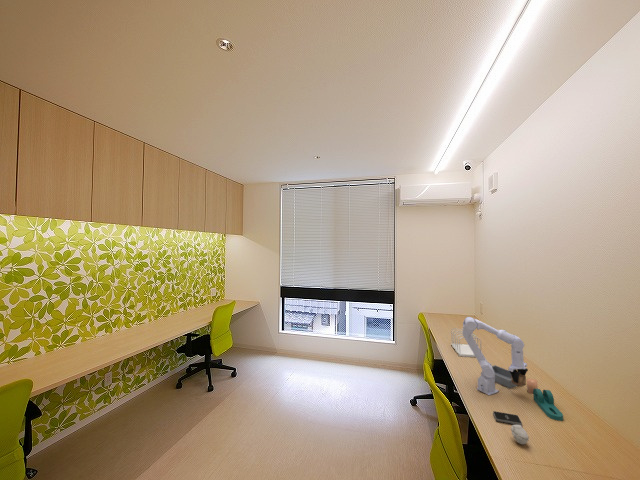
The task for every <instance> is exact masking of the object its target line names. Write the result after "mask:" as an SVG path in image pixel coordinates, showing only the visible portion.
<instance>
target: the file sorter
mask: <svg viewBox="0 0 640 480" xmlns="http://www.w3.org/2000/svg"><path fill="white" fill-rule="evenodd" d="M450 331H451V332H450V334H451V336H452V340H451V343H450V346H451V345H452V346H451V347H452V349H453V348H454V349H455V350H454V349H453V350H454V351H455V352H456V354H457V353H458V354H457V356H459V357H469V358H471V357H472V358H476V357H475V355H474V353H473V352H472V350H471V348H470V347H469V345H468V343H467V344H466V343H465V344H463V343H462V344H461V339H465V338H464V336H463V334H462V331H463V330H457V328H452V329H451V330H450ZM455 332H456V333H455ZM457 334H459V335H457ZM472 337H473V338H474V340H475V342H476V343H477V345H478V347H479V346H480V347H479V348H480V349H482V340H481V339H480V338H479V337H478V335H475V334H474V333H472ZM458 338H459V339H458ZM458 342H459V343H458ZM479 342H480V344H479ZM481 352H482V350H481ZM482 353H483V352H482Z"/></svg>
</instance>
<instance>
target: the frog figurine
mask: <svg viewBox="0 0 640 480" xmlns="http://www.w3.org/2000/svg"><path fill="white" fill-rule="evenodd" d="M510 427H511V428H510V430H511V435H512V436H513V439H514V440H515V441H516V442H517V443H518V444H520V445H526V444H527V443H528V441H529V435H528V433H527V431H526V430H525V429H524V428H523V425H522V426H521V425H511V426H510Z"/></svg>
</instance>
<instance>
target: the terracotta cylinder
mask: <svg viewBox="0 0 640 480" xmlns="http://www.w3.org/2000/svg"><path fill="white" fill-rule="evenodd" d="M538 385H539V384H538V381H537V380H536V379H534V378H530V377H529V378H526V390H527V392H528V394H530V395H533V389H539V387H538Z"/></svg>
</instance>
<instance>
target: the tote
mask: <svg viewBox="0 0 640 480" xmlns="http://www.w3.org/2000/svg"><path fill="white" fill-rule="evenodd" d="M492 368H493V370H494V372H495V384H498V385H501V386H503V387H505V388H507V389H513V388H517V387H519V386H518V385H516V384H513V383H512V378H511V373H510V372H509V370H508V369H506V368H503V367H502V366H501V367H500V366H498V365H496V364H494V365H492Z"/></svg>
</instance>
